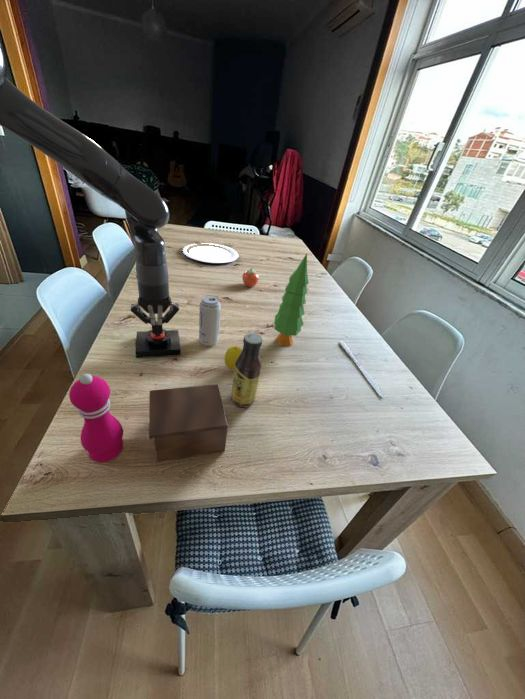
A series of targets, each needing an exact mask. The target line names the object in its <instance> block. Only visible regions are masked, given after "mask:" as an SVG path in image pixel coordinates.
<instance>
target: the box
mask: <svg viewBox="0 0 525 699" xmlns="http://www.w3.org/2000/svg"><path fill="white" fill-rule="evenodd" d="M227 435H228V427H227V428H223V429H216V430H208V431H201V432H194V433H187V434H180V435H173V436H166V437H159V438H153V441H154V449H155V456H156V462H157V463H162V462H169V461H175V460H181V459H186V458H192V457H198V456H205V455H210V454H217V453H222V452H225V451H226V445H227Z"/></svg>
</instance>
